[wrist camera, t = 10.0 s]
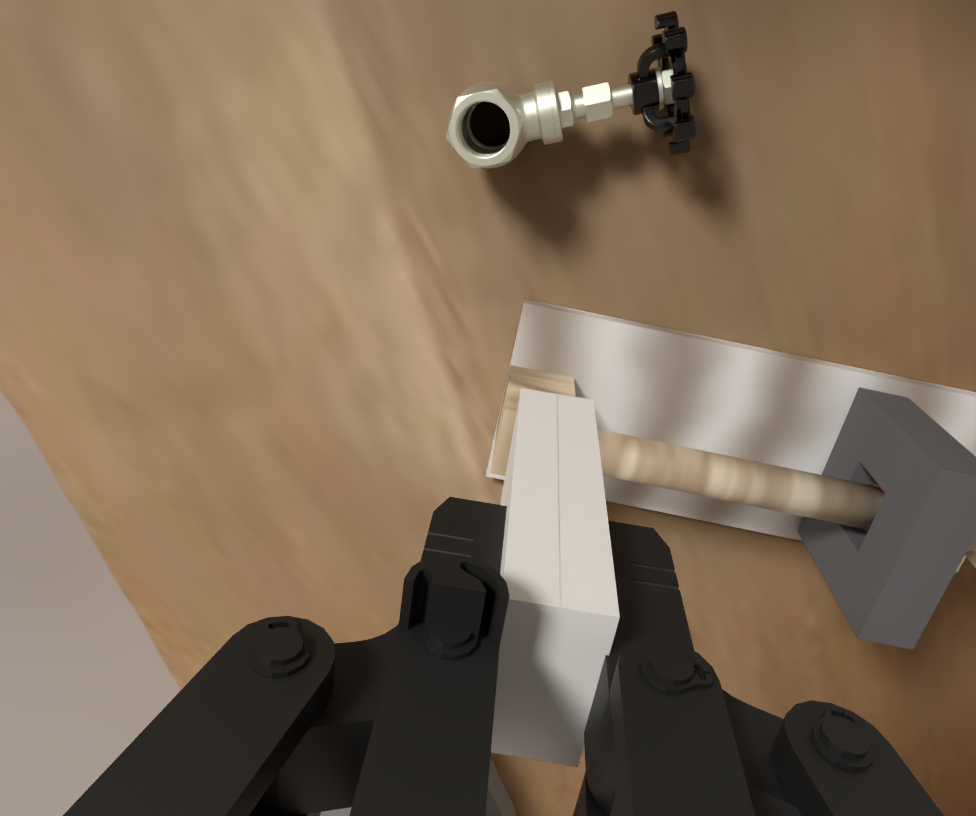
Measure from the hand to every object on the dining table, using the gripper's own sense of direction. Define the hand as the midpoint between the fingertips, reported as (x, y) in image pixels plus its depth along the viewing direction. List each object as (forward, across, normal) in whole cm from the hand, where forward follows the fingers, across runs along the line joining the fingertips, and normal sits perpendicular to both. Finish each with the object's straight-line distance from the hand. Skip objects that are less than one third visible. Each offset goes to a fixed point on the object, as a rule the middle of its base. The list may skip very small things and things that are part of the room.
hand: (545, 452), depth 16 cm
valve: (+31, 0, +5) cm, 31 cm away
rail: (+30, +15, -13) cm, 36 cm away
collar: (+29, +21, -13) cm, 38 cm away
